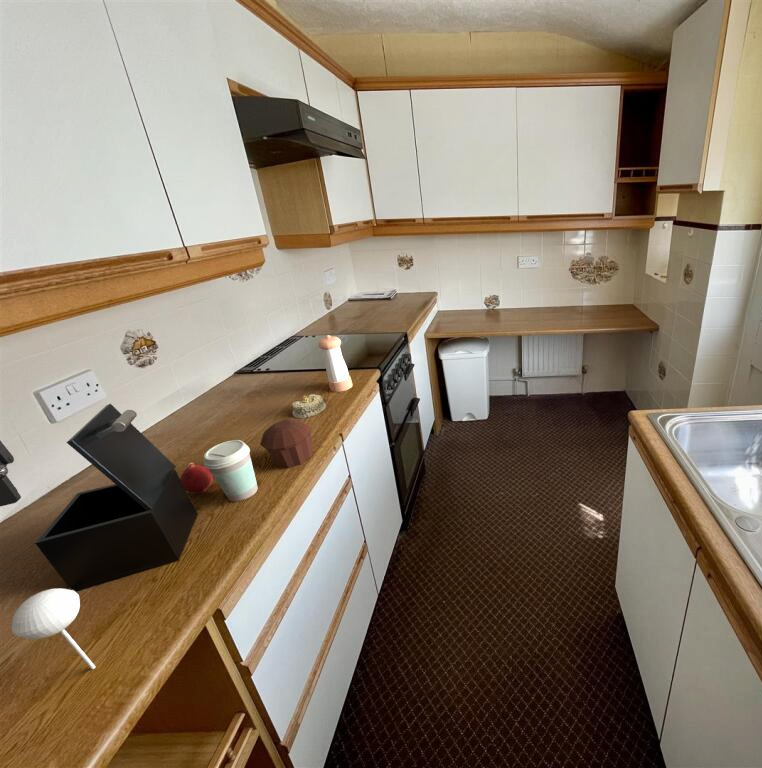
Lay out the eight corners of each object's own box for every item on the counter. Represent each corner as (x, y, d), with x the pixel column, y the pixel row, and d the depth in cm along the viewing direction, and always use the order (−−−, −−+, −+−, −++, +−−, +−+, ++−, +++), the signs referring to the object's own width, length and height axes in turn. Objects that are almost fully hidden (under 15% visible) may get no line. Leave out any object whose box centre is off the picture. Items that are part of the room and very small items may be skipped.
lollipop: (77, 698, 55) (12, 627, 49) (55, 682, 57) (-11, 612, 51) (130, 654, 60) (77, 584, 54) (107, 641, 62) (54, 572, 56)
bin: (72, 592, 71) (34, 543, 66) (107, 538, 82) (77, 492, 77) (178, 560, 76) (151, 512, 71) (197, 513, 87) (175, 469, 82)
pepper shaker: (356, 386, 142) (343, 334, 134) (336, 394, 138) (321, 340, 130) (346, 381, 147) (333, 330, 139) (327, 388, 142) (312, 336, 134)
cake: (333, 407, 130) (330, 392, 128) (307, 422, 122) (303, 407, 120) (312, 399, 134) (308, 385, 132) (285, 414, 126) (280, 399, 124)
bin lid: (65, 442, 62) (101, 426, 63) (106, 405, 74) (135, 392, 75) (147, 511, 71) (177, 496, 72) (172, 468, 82) (197, 456, 83)
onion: (203, 501, 91) (189, 472, 88) (181, 499, 92) (166, 471, 88) (223, 484, 96) (210, 456, 93) (202, 483, 97) (189, 455, 94)
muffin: (323, 442, 110) (313, 410, 106) (312, 467, 100) (300, 432, 96) (277, 448, 109) (265, 416, 105) (261, 474, 99) (247, 439, 95)
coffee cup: (219, 492, 93) (198, 449, 88) (260, 476, 98) (243, 434, 93) (224, 512, 87) (202, 466, 82) (268, 493, 92) (250, 449, 87)
